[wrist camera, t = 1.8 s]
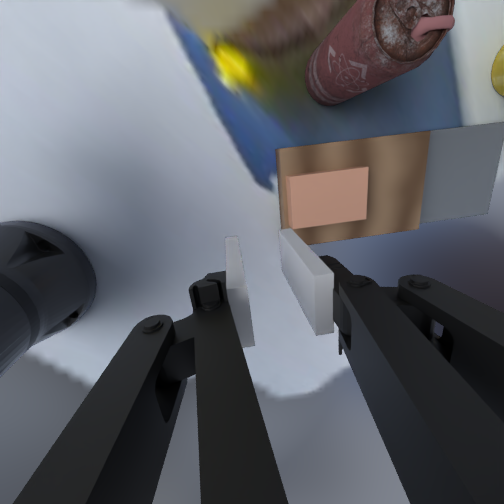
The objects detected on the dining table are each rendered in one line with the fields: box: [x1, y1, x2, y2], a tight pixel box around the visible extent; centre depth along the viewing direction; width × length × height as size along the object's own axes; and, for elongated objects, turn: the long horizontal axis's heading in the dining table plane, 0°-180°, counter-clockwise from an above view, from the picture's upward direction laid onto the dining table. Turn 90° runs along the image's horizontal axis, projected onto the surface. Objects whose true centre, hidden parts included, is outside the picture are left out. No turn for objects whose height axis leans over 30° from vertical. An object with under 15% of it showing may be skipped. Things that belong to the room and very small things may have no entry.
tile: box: [286, 166, 369, 229], centre depth 31 cm, size 9×6×2 cm, turn 97°
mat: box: [419, 122, 504, 224], centre depth 35 cm, size 12×12×1 cm
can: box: [305, 0, 455, 106], centre depth 23 cm, size 6×6×14 cm
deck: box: [275, 131, 431, 245], centre depth 33 cm, size 18×12×2 cm, turn 97°
